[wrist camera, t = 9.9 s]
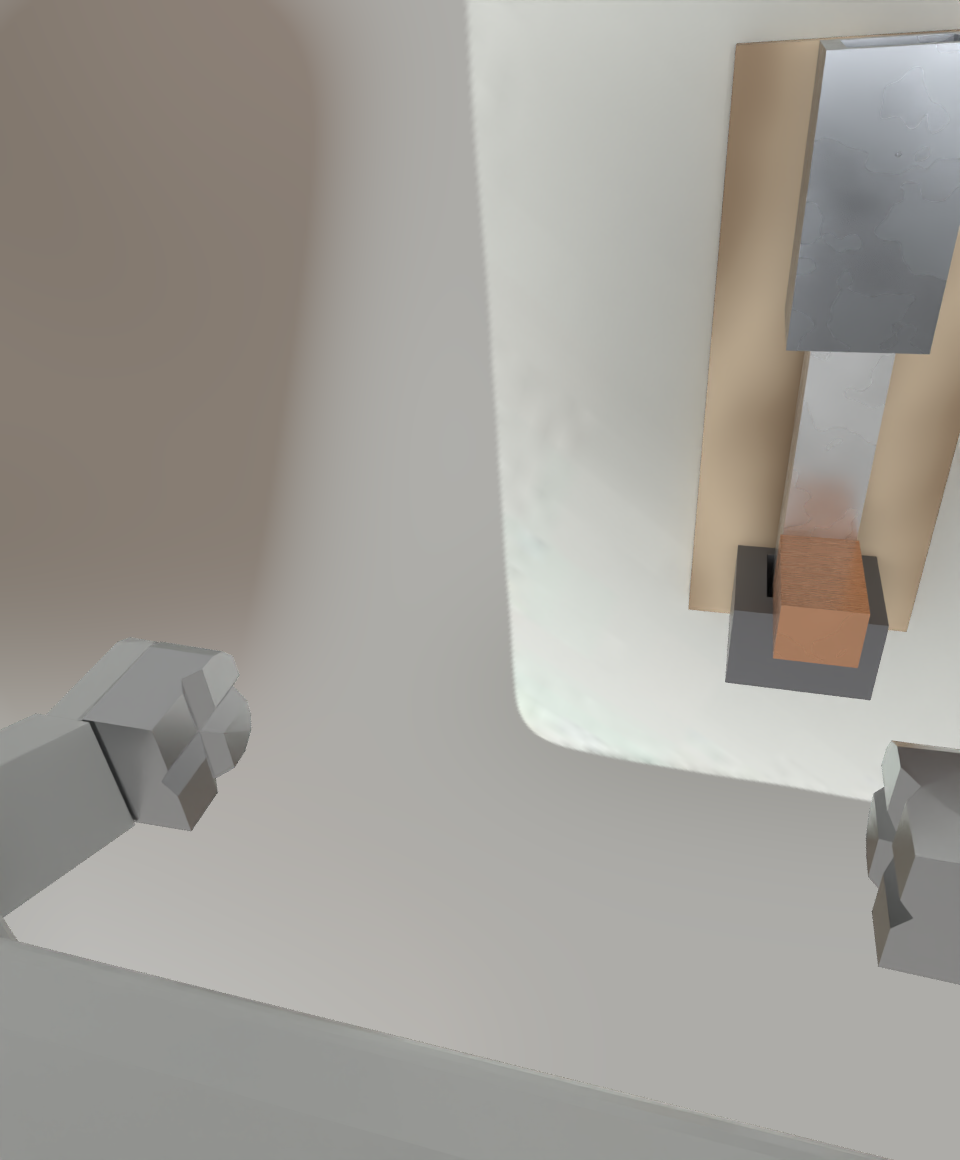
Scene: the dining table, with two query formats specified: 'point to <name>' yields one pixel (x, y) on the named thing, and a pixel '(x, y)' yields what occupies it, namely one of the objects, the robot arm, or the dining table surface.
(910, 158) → the sleeve
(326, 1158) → the robot arm
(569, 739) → the dining table surface
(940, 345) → the oak board
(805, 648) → the bar
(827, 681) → the socket block
